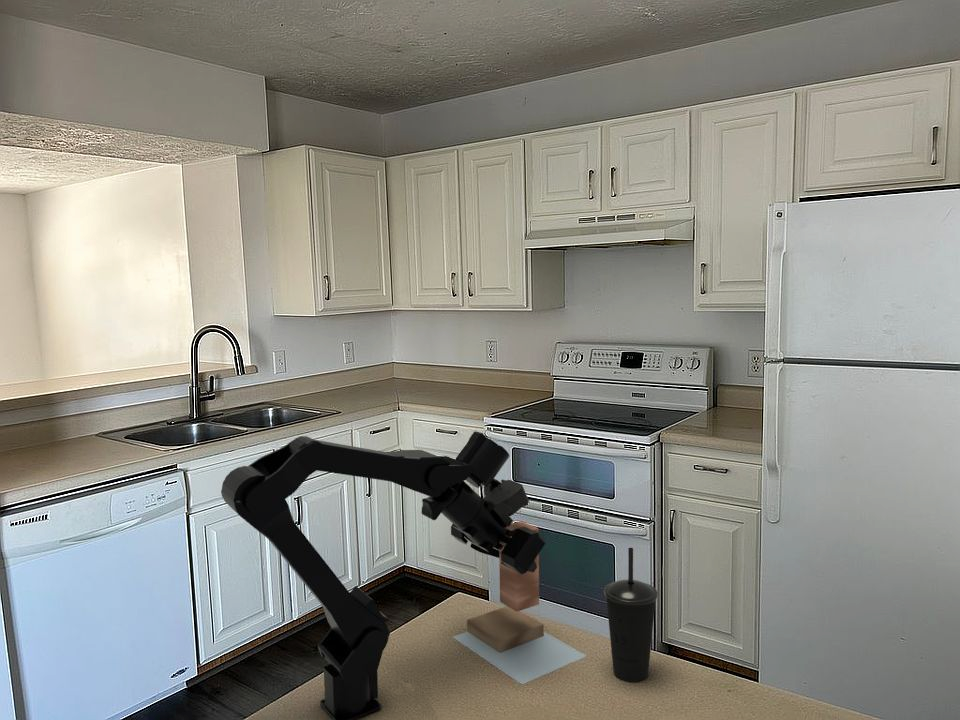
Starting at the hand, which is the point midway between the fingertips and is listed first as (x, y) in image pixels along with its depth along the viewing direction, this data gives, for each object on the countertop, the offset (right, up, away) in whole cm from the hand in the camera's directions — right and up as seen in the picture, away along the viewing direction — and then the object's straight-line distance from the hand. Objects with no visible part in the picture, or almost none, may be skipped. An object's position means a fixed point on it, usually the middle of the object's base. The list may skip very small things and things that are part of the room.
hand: (525, 564), depth 116 cm
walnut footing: (-3, -12, +3) cm, 13 cm away
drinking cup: (+15, -14, -10) cm, 23 cm away
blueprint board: (-1, -14, -1) cm, 14 cm away
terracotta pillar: (-1, -6, 0) cm, 6 cm away
